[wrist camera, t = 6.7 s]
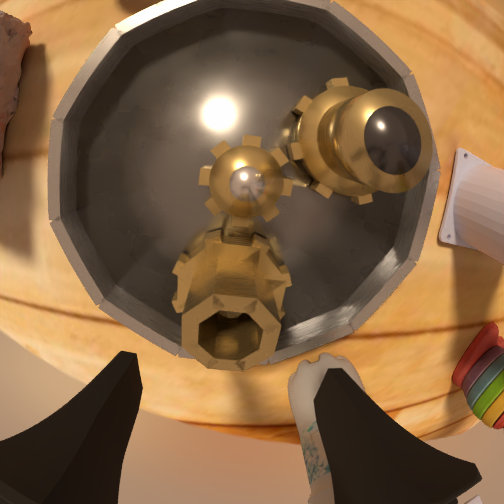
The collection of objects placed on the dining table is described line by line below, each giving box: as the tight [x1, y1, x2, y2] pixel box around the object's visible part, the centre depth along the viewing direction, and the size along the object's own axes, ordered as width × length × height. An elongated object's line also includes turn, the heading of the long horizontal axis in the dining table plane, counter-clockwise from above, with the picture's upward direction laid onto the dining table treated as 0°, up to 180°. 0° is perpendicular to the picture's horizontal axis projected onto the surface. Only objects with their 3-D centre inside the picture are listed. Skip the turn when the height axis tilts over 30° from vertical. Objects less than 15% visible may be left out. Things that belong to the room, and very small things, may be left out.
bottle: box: [288, 353, 366, 504], centre depth 13 cm, size 7×7×20 cm
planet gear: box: [171, 229, 292, 372], centre depth 15 cm, size 7×7×5 cm
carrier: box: [48, 0, 440, 365], centre depth 13 cm, size 24×24×7 cm
